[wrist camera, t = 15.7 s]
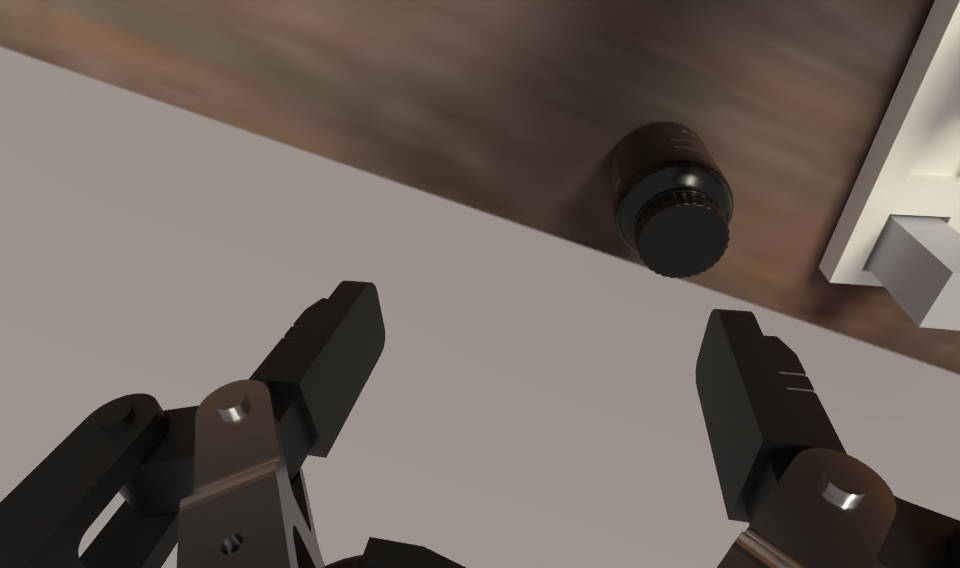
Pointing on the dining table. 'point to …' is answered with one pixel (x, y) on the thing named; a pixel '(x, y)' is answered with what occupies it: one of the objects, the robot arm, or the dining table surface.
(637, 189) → the supplement bottle
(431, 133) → the dining table surface
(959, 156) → the block
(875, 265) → the block
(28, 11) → the dining table surface
